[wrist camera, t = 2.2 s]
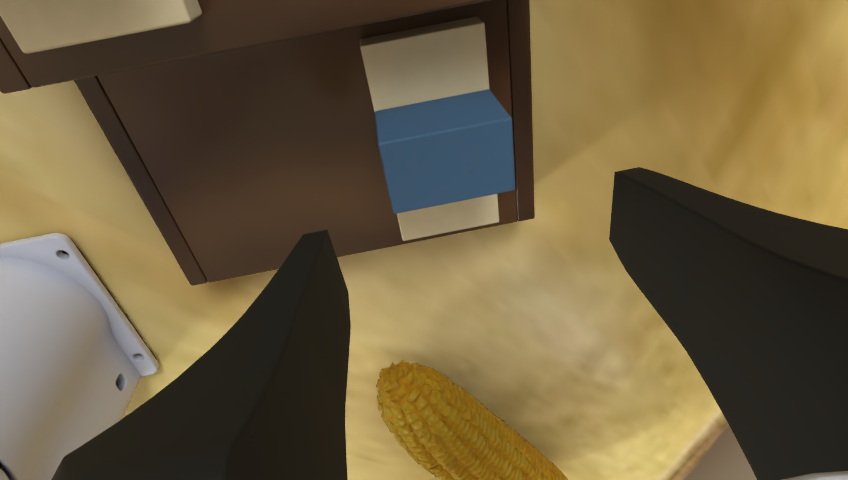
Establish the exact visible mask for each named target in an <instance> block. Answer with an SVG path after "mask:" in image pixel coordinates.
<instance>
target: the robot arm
mask: <svg viewBox="0 0 848 480" xmlns="http://www.w3.org/2000/svg"><path fill="white" fill-rule="evenodd" d="M609 240H610V242H611V244H612V246H613V248H614V249H615V251H616V253H617V255H618V257H619V259H620V261H621V262H622V264H623V266H624V268H625V269H626V271H627V272H628V274H629V275H630V277H631V278H632V279H633V281H634V282H635V283H636V285H637V286H638V287H639V289H640V290H641V291H642V293H643V294H644V295H645V297H646V298H647V299H648V301H649V302H650V303H651V304H652V306H653V307H654V308H655V310H656V311H657V312H658V314H659V315H660V316H661V317H662V319H663V320H664V321H665V323H666V324H667V325H668V327H669V328H670V329H671V330H672V332H673V333H674V334H675V336H676V337H677V338H678V340H679V341H680V343H681V344H682V346H683V347H684V348H685V350H686V351H687V353H688V354H689V356H690V358H691V359H692V361H693V363H694V364H695V366H696V368H697V369H698V371H699V373H700V374H701V376H702V378H703V379H704V381H705V383H706V384H707V386H708V388H709V390H710V391H711V393H712V395H713V397H714V399H715V400H716V402H717V404H718V406H719V407H720V409H721V411H722V413H723V415H724V416H725V418H726V420H727V422H728V423H729V425H730V427H731V429H732V431H733V433H734V435H735V437H736V439H737V441H738V443H739V445H740V447H741V449H742V450H743V452H744V454H745V456H746V458H747V460H748V462H749V464H750V466H751V468H752V470H753V472H754V474H755V476H756V478H757V480H848V229H843V228H838V227H833V226H828V225H823V224H819V223H815V222H811V221H807V220H802V219H798V218H794V217H790V216H786V215H782V214H779V213H775V212H772V211H768V210H765V209H762V208H758V207H755V206H752V205H749V204H745V203H742V202H739V201H736V200H733V199H730V198H727V197H724V196H721V195H718V194H716V193H713V192H710V191H707V190H704V189H702V188H699V187H696V186H693V185H691V184H688V183H685V182H683V181H680V180H677V179H674V178H672V177H669V176H666V175H663V174H660V173H657V172H654V171H651V170H648V169H644V168H640V167H638V168H633V169H628V170H623V171H618V172H615V176H614V189H613V201H612V213H611V226H610V238H609ZM61 250H63V251H66V252H67V253H68V254H69V255H68V254H65V253H63V252H62V251H61ZM349 343H350V310H349V297H348V290H347V287H346V284H345V281H344V278H343V275H342V272H341V269H340V266H339V263H338V260H337V257H336V254H335V251H334V248H333V245H332V242H331V239H330V236H329V233H328V230H323V231H318V232H313V233H308V234H303V235H302V237H301V238H300V239H299V241H298V242H297V244H296V245H295V247H294V248H293V249H292V251H291V252H290V254H289V255H288V257H287V258H286V260H285V261H284V262H283V264H282V265H281V267H280V268H279V270H278V271H277V272H276V274H275V275H274V277H273V278H272V279H271V281H270V282H269V283H268V285H267V286H266V287H265V289H264V290H263V291H262V292H261V294H260V295H259V296H258V297H257V299H256V300H255V301H254V302H253V303H252V305H251V306H250V307H249V308H248V310H247V311H246V312H245V313H244V314H243V316H242V317H241V318H240V319H239V320H238V321H237V322H236V323H235V324H234V325H233V327H232V328H231V329H230V330H229V331H228V332H227V333H226V334H225V335H224V336H223V337H222V338H221V339H220V340H219V341H218V342H217V343H216V344H215V345H214V346H213V347H212V348H211V349H210V350H208V351H207V352H206V353H205V354H204V355H203V356H202V357H200V358H199V359H198V360H197V361H196V362H195V363H194V364H192V365H191V366H190V367H189V368H188V369H187V370H186V371H184V372H183V373H182V374H181V375H180V376H179V377H178V378H176V379H175V380H174V381H173V382H171V383H170V384H169V385H168V386H166V387H165V388H164V389H163V390H161V391H160V392H159V393H157V394H156V395H155V396H153V397H152V398H151V399H149V400H148V401H147V402H145V403H144V404H143V405H141V406H140V407H138V408H137V409H136V410H134V411H133V412H132V413H130V414H129V415H127V416H126V417H124V418H123V419H122V417H123V415H124V412H125V410H126V408H127V406H128V404H129V402H130V399H131V397H132V395H133V393H134V391H135V388H136V386H137V384H138V382H139V380H140V377H141V376H146V375H151V374H154V373H156V372H157V370H158V368H159V363H158V361H157V360H156V359H155V357H154V356H153V354H152V353H151V352H150V350H149V349H148V347H147V346H146V345H145V343H144V342H143V340H142V339H141V338H140V336H139V335H138V333H137V332H136V330H135V329H134V328H133V326H132V325H131V323H130V322H129V321H128V319H127V318H126V316H125V315H124V314H123V312H122V311H121V309H120V308H119V307H118V305H117V304H116V302H115V301H114V299H113V298H112V297H111V295H110V294H109V292H108V291H107V290H106V288H105V287H104V285H103V284H102V283H101V281H100V280H99V278H98V277H97V276H96V274H95V273H94V271H93V270H92V268H91V267H90V266H89V264H88V263H87V261H86V260H85V259H84V257H83V256H82V254H81V253H80V252H79V250H78V249H77V247H76V246H75V244H74V243H73V242H72V240H71V239H70V238H69V237H68V236H66V235H64V234H61V233H51V234H46V235H41V236H36V237H31V238H25V239H20V240H15V241H10V242H5V243H0V480H347V463H346V438H345V402H346V387H347V373H348V358H349ZM139 354H141V355H139ZM121 419H122V420H121Z"/></svg>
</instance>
